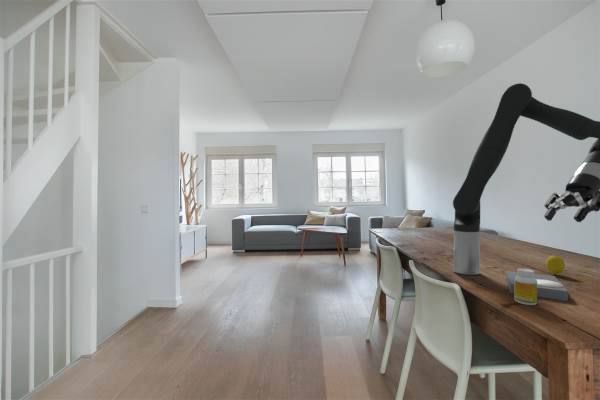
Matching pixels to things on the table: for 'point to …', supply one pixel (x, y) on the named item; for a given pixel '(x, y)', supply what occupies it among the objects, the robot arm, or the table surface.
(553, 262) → the lemon
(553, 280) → the plinth
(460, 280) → the table surface
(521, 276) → the supplement bottle
